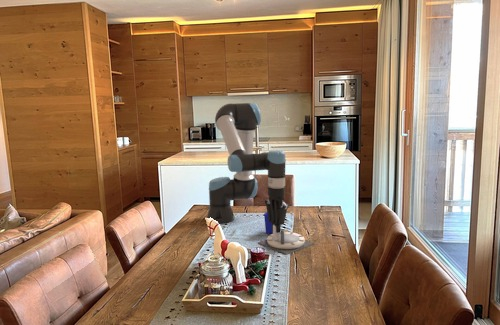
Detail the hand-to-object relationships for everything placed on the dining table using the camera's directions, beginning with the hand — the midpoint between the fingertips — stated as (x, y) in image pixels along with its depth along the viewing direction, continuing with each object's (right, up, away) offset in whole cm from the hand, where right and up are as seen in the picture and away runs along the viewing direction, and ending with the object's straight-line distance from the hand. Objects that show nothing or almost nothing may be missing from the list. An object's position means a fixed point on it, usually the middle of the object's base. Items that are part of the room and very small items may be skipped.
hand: (276, 238), depth 166 cm
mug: (0, -1, +23) cm, 23 cm away
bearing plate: (+5, -3, +6) cm, 9 cm away
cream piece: (+5, -3, +6) cm, 9 cm away
